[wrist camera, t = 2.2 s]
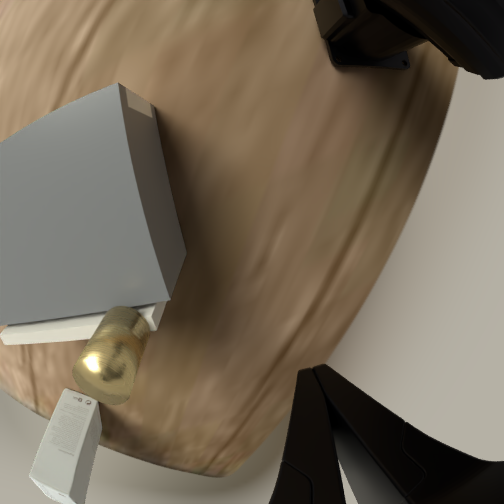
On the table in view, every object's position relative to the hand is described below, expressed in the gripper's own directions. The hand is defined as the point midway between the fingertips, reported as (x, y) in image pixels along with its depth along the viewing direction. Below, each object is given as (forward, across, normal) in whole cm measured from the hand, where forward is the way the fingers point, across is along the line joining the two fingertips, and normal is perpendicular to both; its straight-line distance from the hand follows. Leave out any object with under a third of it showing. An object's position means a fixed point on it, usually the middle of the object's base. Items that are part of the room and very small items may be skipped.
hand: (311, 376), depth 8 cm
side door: (+12, +12, 0) cm, 17 cm away
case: (+12, +12, -6) cm, 18 cm away
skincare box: (+12, +22, +14) cm, 29 cm away
